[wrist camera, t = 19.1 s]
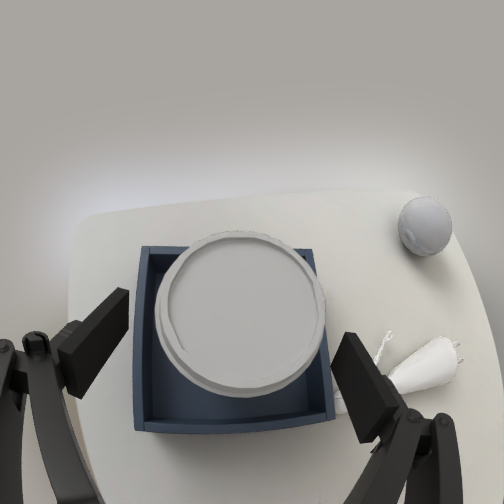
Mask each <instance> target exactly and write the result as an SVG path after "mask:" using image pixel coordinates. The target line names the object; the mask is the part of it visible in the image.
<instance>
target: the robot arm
mask: <svg viewBox="0 0 504 504" xmlns="http://www.w3.org/2000/svg"><path fill="white" fill-rule="evenodd" d="M128 329H129V290H126V289H122V288H117V289H116V290H115V291H114V292H112V293H111V294H110V295H109V296H108V297H107V298H106V299H105V300H104V301H103V302H102V303H101V304H100V305H99V306H98V307H97V308H96V309H95V310H94V311H93V312H92V313H91V314H90V315H89V316H88V317H87V318H86V319H85V320H84V321H83V322H81V321H78V320H75V321H72V322H70V323H68V324H67V325H66V326H65V327H64V328H63V330H61V331H60V332H59V333H58V334H57V335H55V337H53V338H52V339H51V341H49V339H48V336H47V335H46V334H45V333H42V332H39V331H33V332H29V333H28V334H26V335H25V336H24V337H23V339H22V343H23V347H24V350H25V352H22V351H18V350H15V348H14V345H13V343H12V342H11V341H10V340H7V339H0V504H23V493H22V474H21V455H22V433H23V422H24V412H25V405H26V398H27V394H29V395H30V402H31V408H32V414H33V419H34V425H35V429H36V434H37V439H38V442H39V447H40V451H41V454H42V458H43V461H44V465H45V468H46V471H47V474H48V477H49V480H50V483H51V486H52V489H53V491H54V494H55V496H56V499H57V504H105V502H104V500H103V498H102V496H101V494H100V492H99V490H98V488H97V486H96V485H95V482H94V480H93V478H92V476H91V474H90V471H89V469H88V467H87V465H86V462H85V460H84V457H83V455H82V452H81V450H80V447H79V445H78V442H77V439H76V436H75V433H74V430H73V427H72V424H71V421H70V418H69V414H68V411H67V408H66V404H65V401H64V397H63V393H62V390H63V388H64V387H65V386H66V388H67V392H68V394H70V395H72V396H74V397H77V398H79V399H81V400H82V398H83V396H84V395H85V393H86V392H87V390H88V389H89V387H90V385H91V384H92V382H93V381H94V379H95V378H96V376H97V375H98V373H99V372H100V370H101V369H102V367H103V366H104V364H105V363H106V361H107V360H108V358H109V357H110V355H111V354H112V352H113V351H114V349H115V348H116V347H117V345H118V344H119V342H120V341H121V339H122V338H123V337H124V335H125V334H126V332H127V331H128ZM330 367H331V370H332V372H333V375H334V377H335V380H336V382H337V385H338V388H339V390H340V393H341V395H342V398H343V400H344V403H345V406H346V408H347V411H348V413H349V416H350V419H351V421H352V424H353V427H354V429H355V432H356V435H357V437H358V440H359V443H360V444H361V443H370V442H373V441H374V440H375V439H376V437H377V436H378V435H379V437H380V442H379V443H378V444H377V445H376V446H375V448H374V449H373V450H372V451H371V452H370V453H373V454H372V456H371V458H370V460H369V462H368V463H367V465H366V467H365V469H364V471H363V473H362V474H361V476H360V478H359V479H358V481H357V483H356V485H355V486H354V488H353V489H352V491H351V493H350V494H349V496H348V497H347V499H346V501H345V502H344V504H397V502H398V499H399V497H400V495H401V492H402V490H403V487H404V485H405V482H406V479H407V483H406V493H405V502H404V504H463V489H462V475H461V465H460V457H459V449H458V443H457V437H456V431H455V426H454V422H453V419H452V418H451V417H450V416H449V415H447V414H445V413H438V414H437V415H436V416H435V417H434V419H425V418H423V416H422V414H421V413H420V412H418V411H417V410H415V409H411V408H408V407H407V405H406V403H405V402H404V400H403V399H402V397H401V395H400V394H399V393H398V390H397V389H396V388H395V385H394V384H393V382H392V381H391V380H390V379H389V378H388V377H387V376H386V375H381V373H380V371H379V370H378V368H377V366H376V365H375V363H374V361H373V360H372V358H371V357H370V355H369V353H368V352H367V350H366V349H365V347H364V345H363V344H362V342H361V341H360V339H359V337H358V336H357V334H356V333H351V332H345V333H344V336H343V338H342V341H341V343H340V345H339V348H338V350H337V352H336V354H335V357H334V359H333V361H332V363H331V365H330Z"/></svg>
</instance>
